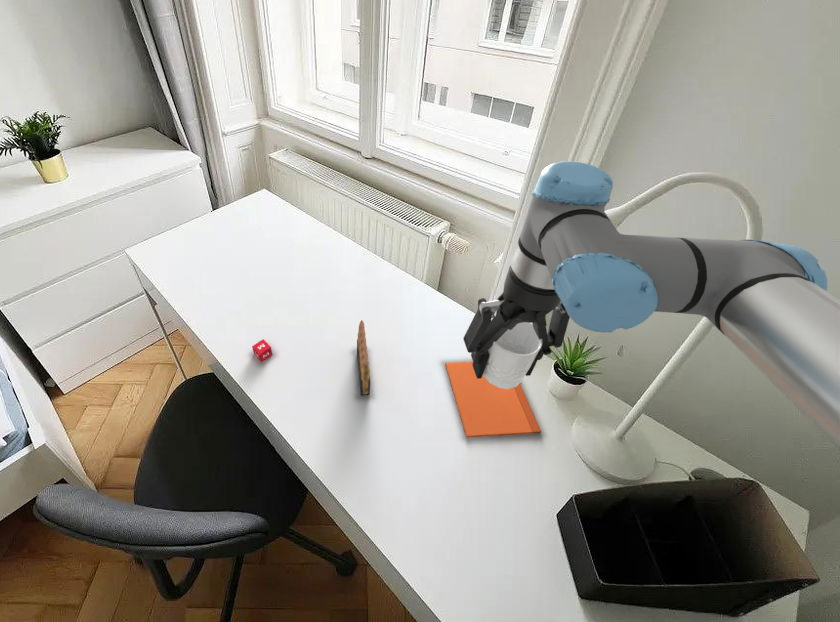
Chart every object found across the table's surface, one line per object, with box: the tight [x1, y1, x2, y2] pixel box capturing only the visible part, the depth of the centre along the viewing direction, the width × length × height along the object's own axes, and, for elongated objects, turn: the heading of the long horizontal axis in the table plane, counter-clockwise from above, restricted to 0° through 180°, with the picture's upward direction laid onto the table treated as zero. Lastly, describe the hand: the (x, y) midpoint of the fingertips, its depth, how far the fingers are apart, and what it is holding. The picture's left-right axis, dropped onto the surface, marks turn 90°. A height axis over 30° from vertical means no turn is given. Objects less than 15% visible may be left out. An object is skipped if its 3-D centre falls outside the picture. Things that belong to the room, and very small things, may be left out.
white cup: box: [483, 322, 542, 389], centre depth 66 cm, size 8×8×10 cm
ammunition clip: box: [356, 319, 371, 397], centre depth 83 cm, size 11×2×12 cm, turn 2°
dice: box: [251, 338, 273, 363], centre depth 90 cm, size 3×3×3 cm
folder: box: [444, 360, 542, 438], centre depth 82 cm, size 16×14×1 cm
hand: (500, 370), depth 70 cm, fingers closed on white cup, 8 cm apart
